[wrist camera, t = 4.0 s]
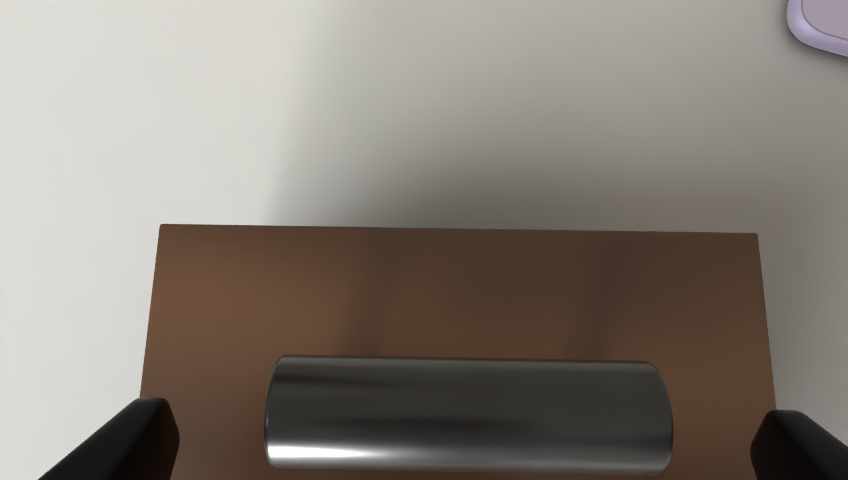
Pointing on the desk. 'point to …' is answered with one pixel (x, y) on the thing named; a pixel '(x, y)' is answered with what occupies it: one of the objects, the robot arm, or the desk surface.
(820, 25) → the mobile phone
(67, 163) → the desk surface
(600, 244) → the compartment lid
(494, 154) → the desk surface
